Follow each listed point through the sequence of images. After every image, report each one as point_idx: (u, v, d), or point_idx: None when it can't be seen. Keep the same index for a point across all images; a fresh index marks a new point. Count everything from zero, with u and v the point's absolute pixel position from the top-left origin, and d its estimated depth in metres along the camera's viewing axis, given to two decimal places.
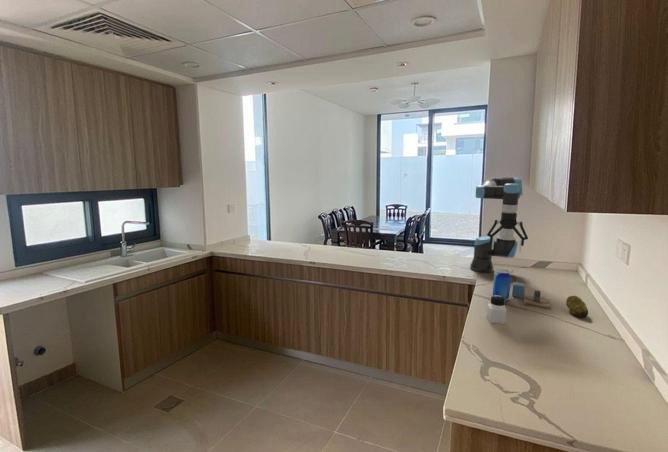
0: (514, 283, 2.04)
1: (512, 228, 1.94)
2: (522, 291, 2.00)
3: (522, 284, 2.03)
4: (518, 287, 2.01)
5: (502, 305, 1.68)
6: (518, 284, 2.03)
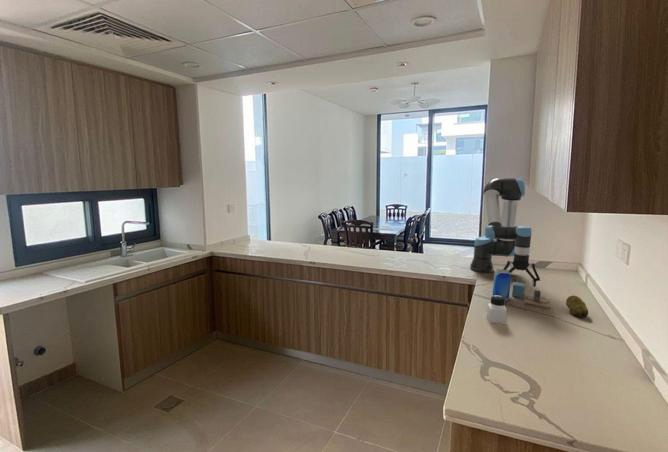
0: (514, 283, 2.04)
1: (524, 269, 2.00)
2: (522, 291, 2.00)
3: (522, 284, 2.03)
4: (518, 287, 2.01)
5: (502, 305, 1.68)
6: (518, 284, 2.03)
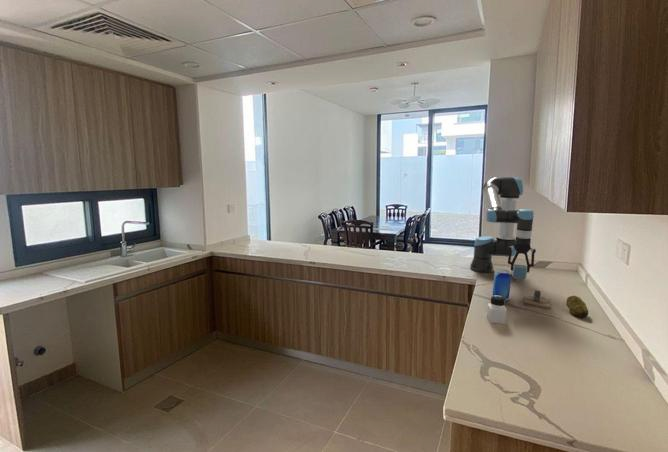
0: (516, 265, 2.03)
1: (524, 253, 1.99)
2: (524, 273, 1.99)
3: (524, 266, 2.01)
4: (520, 269, 1.99)
5: (502, 305, 1.68)
6: (520, 266, 2.01)
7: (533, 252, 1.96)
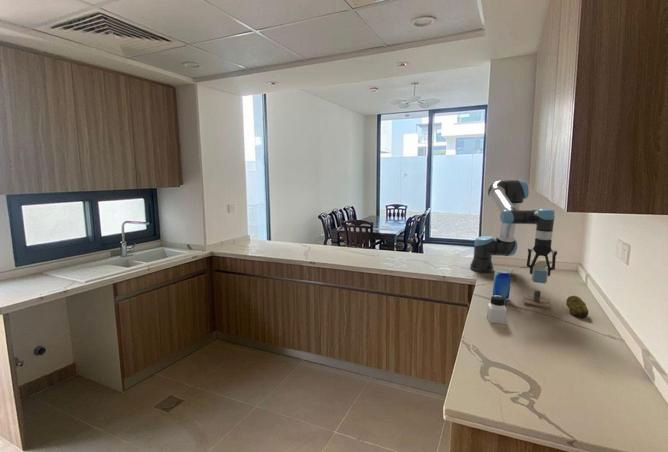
0: (535, 268, 1.91)
1: (544, 255, 1.87)
2: (544, 277, 1.87)
3: (544, 269, 1.89)
4: (540, 272, 1.88)
5: (502, 305, 1.68)
6: (540, 269, 1.89)
7: (554, 254, 1.85)
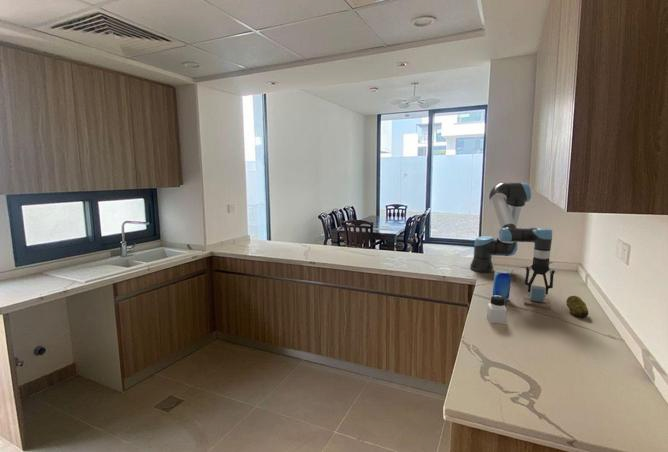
0: (533, 287, 1.93)
1: (542, 274, 1.89)
2: (542, 295, 1.89)
3: (542, 288, 1.91)
4: (538, 291, 1.90)
5: (502, 305, 1.68)
6: (538, 288, 1.91)
7: (552, 273, 1.87)
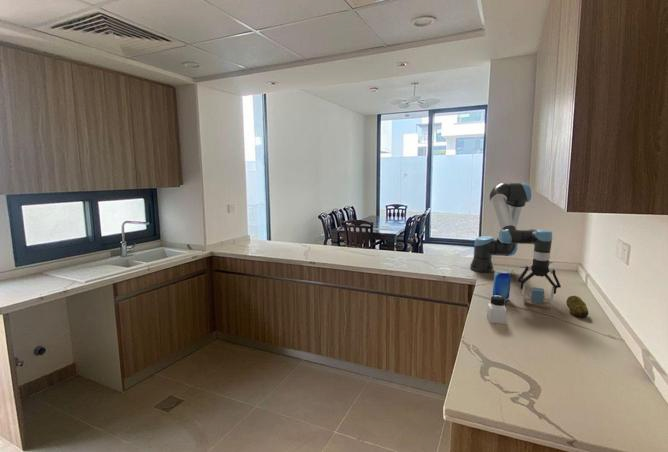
0: (533, 288, 1.93)
1: (544, 275, 1.89)
2: (542, 297, 1.89)
3: (542, 289, 1.91)
4: (537, 292, 1.90)
5: (502, 305, 1.68)
6: (537, 289, 1.91)
7: (553, 273, 1.87)
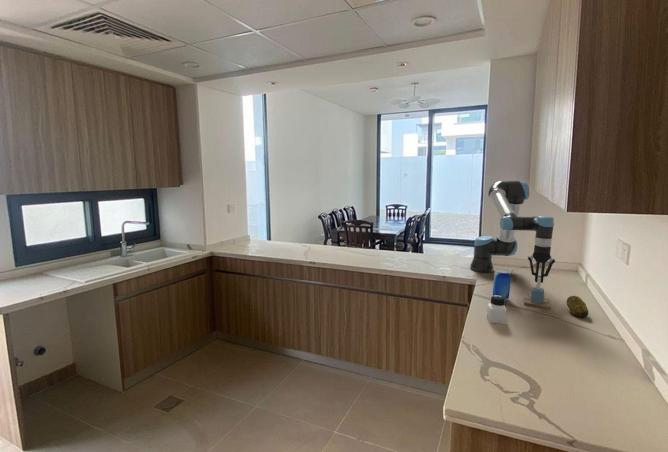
0: (533, 288, 1.93)
1: (542, 262, 1.88)
2: (542, 297, 1.89)
3: (542, 289, 1.91)
4: (537, 292, 1.90)
5: (502, 305, 1.68)
6: (537, 289, 1.91)
7: (552, 262, 1.86)
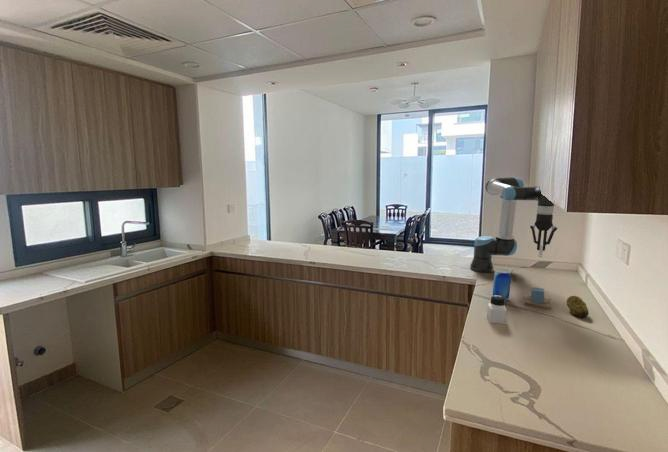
0: (533, 288, 1.93)
1: (544, 230, 1.92)
2: (542, 297, 1.89)
3: (542, 289, 1.91)
4: (537, 292, 1.90)
5: (502, 305, 1.68)
6: (537, 289, 1.91)
7: (554, 230, 1.89)
